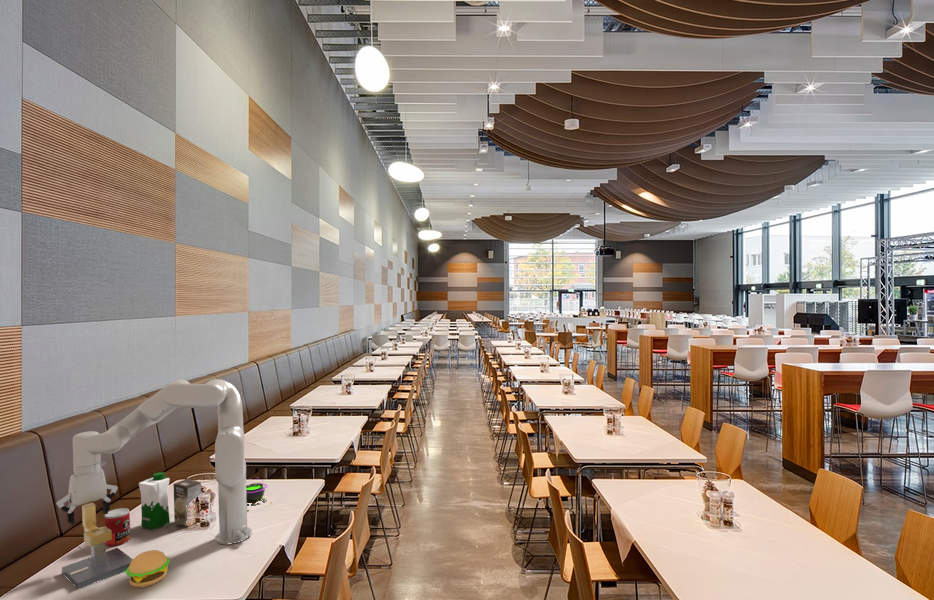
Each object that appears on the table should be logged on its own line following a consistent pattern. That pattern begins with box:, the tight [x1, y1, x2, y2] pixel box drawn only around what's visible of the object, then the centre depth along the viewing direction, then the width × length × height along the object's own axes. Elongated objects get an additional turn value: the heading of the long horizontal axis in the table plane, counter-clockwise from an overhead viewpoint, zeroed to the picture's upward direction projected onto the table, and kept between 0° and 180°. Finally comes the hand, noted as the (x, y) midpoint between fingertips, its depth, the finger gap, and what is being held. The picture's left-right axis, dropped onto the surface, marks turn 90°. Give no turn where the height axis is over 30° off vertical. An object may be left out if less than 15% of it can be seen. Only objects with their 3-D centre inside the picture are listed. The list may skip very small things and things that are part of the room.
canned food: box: [104, 507, 131, 547], centre depth 191 cm, size 8×8×11 cm
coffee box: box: [173, 478, 202, 526], centre depth 206 cm, size 9×6×16 cm
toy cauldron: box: [246, 477, 269, 506], centre depth 223 cm, size 15×15×11 cm
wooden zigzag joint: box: [81, 502, 112, 548], centre depth 173 cm, size 12×6×10 cm, turn 53°
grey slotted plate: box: [61, 542, 134, 590], centre depth 171 cm, size 16×16×9 cm
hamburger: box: [125, 549, 170, 588], centre depth 165 cm, size 12×12×9 cm
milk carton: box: [138, 471, 171, 531], centre depth 204 cm, size 9×9×20 cm
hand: (88, 518), depth 176 cm, fingers open, 9 cm apart
